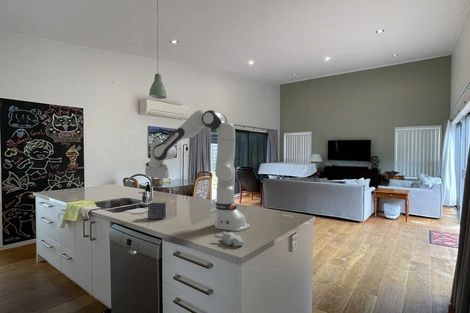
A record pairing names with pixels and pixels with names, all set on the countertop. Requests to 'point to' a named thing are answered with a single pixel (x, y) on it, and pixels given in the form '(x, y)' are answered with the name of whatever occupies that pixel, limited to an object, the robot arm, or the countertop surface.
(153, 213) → the small box
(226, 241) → the bunny figurine
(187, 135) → the robot arm
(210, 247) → the countertop surface
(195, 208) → the countertop surface
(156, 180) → the walnut cube
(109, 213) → the countertop surface
